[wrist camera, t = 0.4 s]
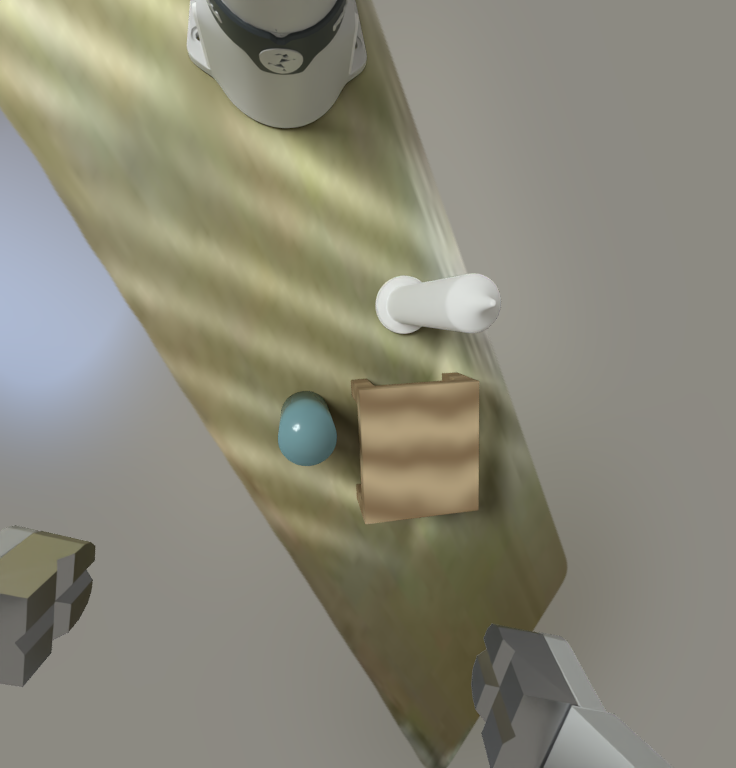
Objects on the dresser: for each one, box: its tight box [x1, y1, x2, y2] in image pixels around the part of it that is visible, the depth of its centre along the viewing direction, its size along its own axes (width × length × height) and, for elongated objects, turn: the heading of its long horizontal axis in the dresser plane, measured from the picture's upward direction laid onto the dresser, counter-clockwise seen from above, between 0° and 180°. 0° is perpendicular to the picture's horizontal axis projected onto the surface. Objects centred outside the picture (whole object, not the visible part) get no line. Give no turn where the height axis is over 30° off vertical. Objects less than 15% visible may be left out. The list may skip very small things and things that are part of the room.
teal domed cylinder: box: [278, 391, 337, 466], centre depth 49 cm, size 6×6×10 cm
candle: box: [376, 273, 501, 334], centre depth 41 cm, size 7×7×25 cm
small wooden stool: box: [351, 373, 479, 524], centre depth 53 cm, size 16×14×7 cm
